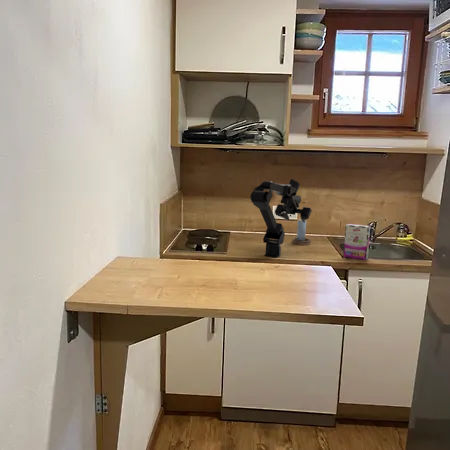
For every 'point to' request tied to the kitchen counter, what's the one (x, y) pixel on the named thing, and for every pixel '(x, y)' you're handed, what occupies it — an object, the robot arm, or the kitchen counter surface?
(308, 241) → the walnut tray
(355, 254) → the candy bar box
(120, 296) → the kitchen counter surface
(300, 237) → the bead jar
